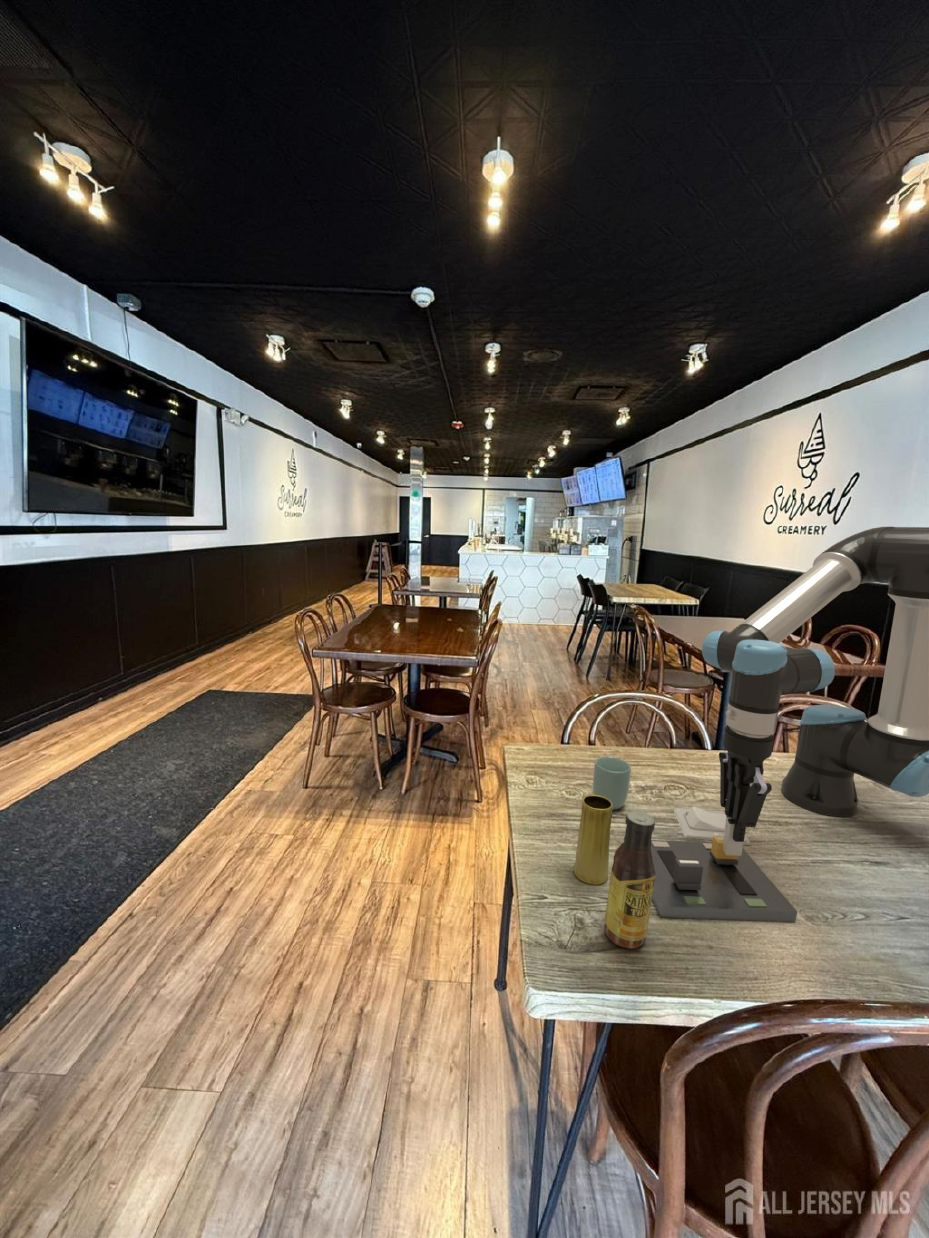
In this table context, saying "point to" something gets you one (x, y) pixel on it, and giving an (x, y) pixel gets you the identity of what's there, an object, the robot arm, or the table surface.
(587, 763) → the table surface
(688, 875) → the lever
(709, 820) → the light switch
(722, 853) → the lever
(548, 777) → the table surface
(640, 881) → the sauce bottle
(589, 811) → the vase
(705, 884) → the breaker panel
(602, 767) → the cup
